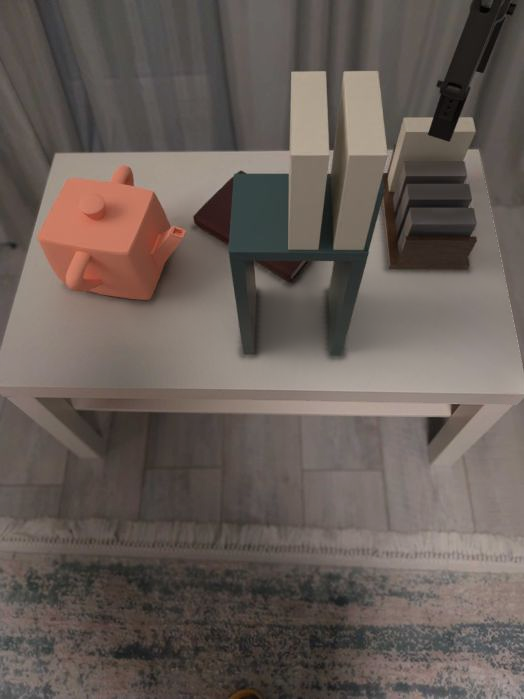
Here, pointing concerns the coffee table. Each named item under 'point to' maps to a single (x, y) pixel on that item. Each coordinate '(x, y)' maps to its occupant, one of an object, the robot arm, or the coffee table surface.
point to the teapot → (108, 237)
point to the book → (217, 223)
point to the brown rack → (429, 216)
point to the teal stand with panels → (314, 198)
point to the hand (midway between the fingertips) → (457, 101)
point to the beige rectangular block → (428, 145)
